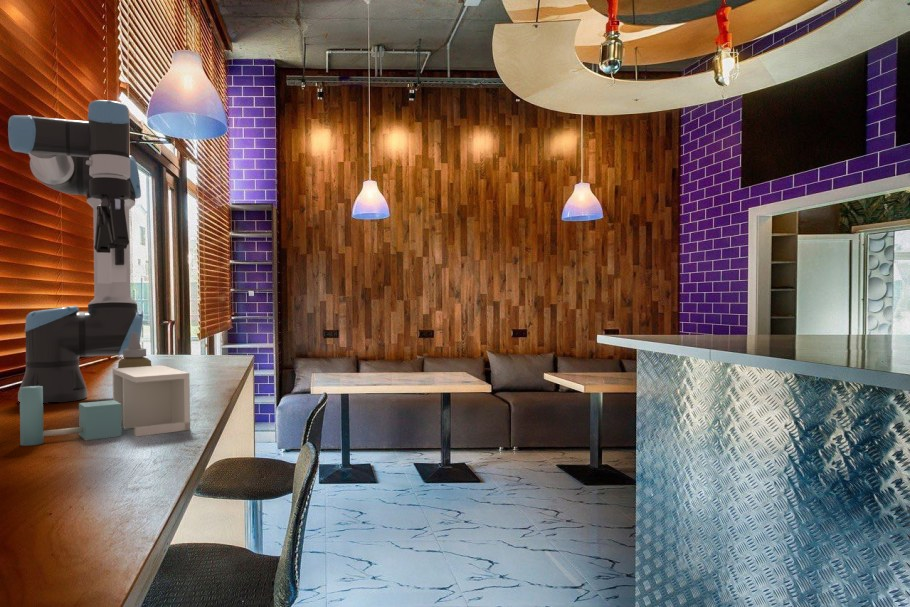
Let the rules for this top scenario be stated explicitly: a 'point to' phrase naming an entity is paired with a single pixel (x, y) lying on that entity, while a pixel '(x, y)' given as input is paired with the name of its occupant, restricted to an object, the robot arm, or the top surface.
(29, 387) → the teal block
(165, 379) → the cream cubby shelf
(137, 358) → the squeeze bottle
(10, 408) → the top surface
